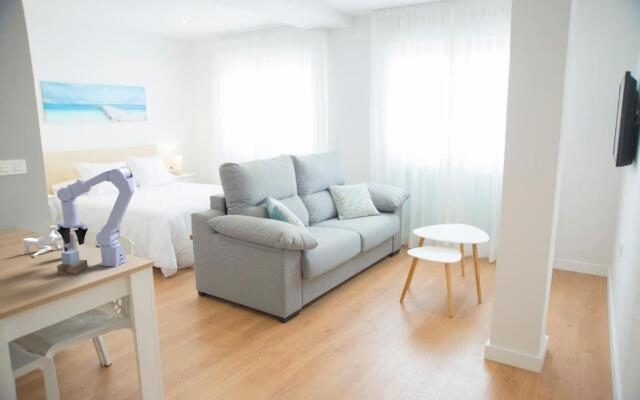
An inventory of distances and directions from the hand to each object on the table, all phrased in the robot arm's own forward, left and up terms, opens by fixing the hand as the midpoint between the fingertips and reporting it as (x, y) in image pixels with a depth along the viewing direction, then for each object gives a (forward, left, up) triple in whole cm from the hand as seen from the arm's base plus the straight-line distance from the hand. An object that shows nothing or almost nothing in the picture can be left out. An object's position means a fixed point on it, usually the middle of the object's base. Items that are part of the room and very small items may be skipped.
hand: (74, 243), depth 190 cm
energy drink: (+11, -8, -10) cm, 17 cm away
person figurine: (+31, -12, -10) cm, 35 cm away
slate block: (-6, +8, -6) cm, 12 cm away
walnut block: (-6, +8, -10) cm, 14 cm away
